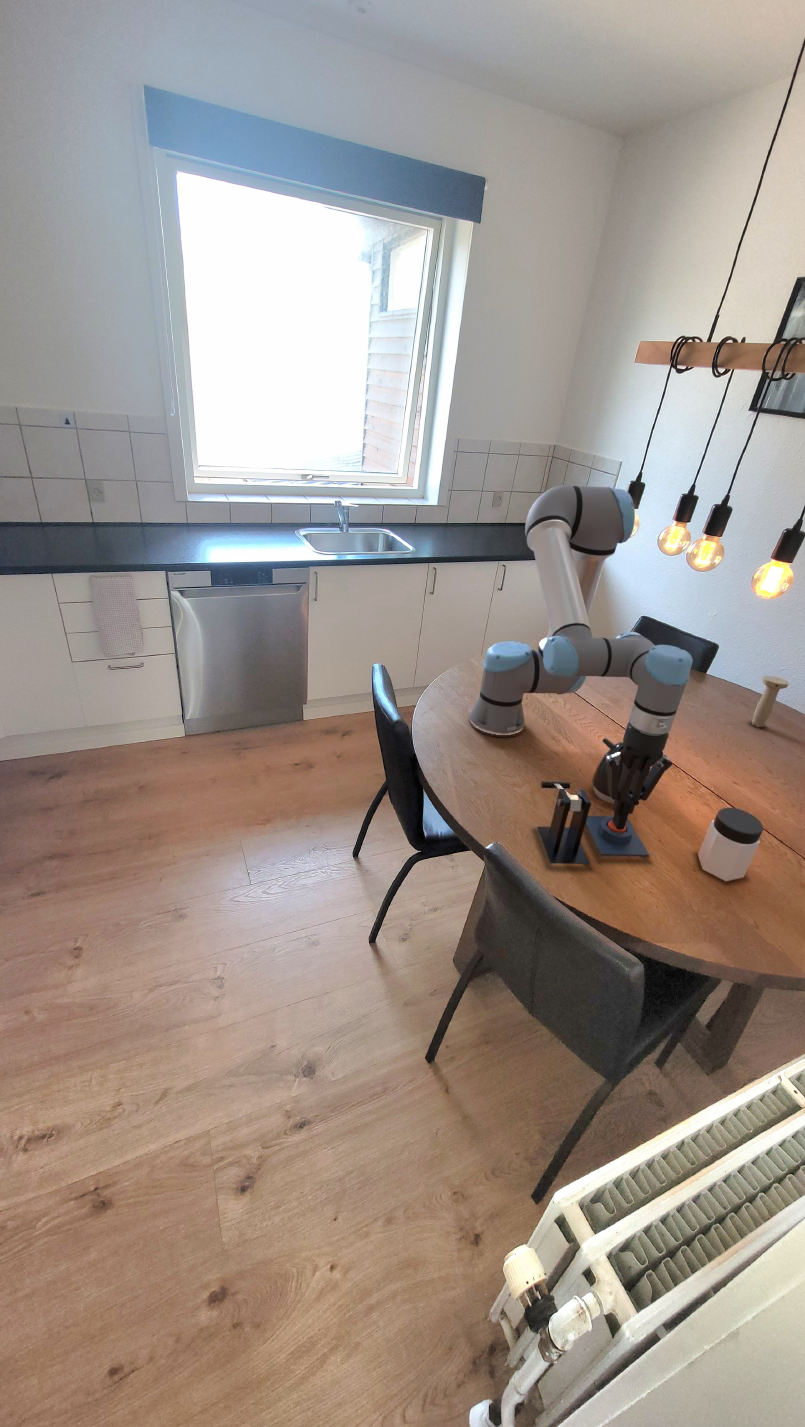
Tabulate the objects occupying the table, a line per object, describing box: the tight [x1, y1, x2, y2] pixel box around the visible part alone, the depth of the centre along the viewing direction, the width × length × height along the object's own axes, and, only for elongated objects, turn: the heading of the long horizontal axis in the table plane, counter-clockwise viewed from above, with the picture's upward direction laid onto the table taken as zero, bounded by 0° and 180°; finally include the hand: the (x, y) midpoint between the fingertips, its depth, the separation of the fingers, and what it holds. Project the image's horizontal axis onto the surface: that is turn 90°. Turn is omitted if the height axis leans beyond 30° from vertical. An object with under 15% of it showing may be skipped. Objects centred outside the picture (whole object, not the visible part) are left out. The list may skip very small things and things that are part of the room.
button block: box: [585, 815, 650, 857], centre depth 123 cm, size 12×10×4 cm
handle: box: [751, 675, 790, 728], centre depth 171 cm, size 5×6×15 cm
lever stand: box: [536, 788, 592, 865], centre depth 117 cm, size 11×8×14 cm
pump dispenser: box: [591, 737, 628, 805], centre depth 134 cm, size 10×10×15 cm
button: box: [608, 820, 626, 833], centre depth 123 cm, size 4×4×2 cm
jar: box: [697, 807, 764, 882], centre depth 117 cm, size 9×8×12 cm
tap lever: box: [540, 780, 582, 812], centre depth 120 cm, size 13×6×2 cm, turn 2°
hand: (617, 824), depth 122 cm, fingers closed
